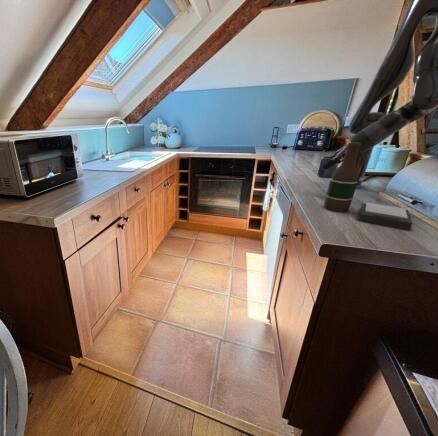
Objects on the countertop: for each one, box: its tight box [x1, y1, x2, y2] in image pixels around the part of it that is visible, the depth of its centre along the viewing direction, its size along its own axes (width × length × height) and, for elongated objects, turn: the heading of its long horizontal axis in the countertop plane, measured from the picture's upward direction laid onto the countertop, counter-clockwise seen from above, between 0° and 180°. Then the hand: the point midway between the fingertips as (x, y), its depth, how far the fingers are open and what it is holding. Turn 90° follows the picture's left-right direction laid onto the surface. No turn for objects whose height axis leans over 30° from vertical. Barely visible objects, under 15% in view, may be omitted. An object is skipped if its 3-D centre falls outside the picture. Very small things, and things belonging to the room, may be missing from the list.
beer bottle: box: [323, 141, 361, 213], centre depth 87 cm, size 8×8×24 cm
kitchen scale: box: [358, 202, 413, 231], centre depth 81 cm, size 14×12×3 cm
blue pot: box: [316, 155, 340, 180], centre depth 101 cm, size 6×6×8 cm
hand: (323, 166), depth 102 cm, fingers closed on blue pot, 6 cm apart
